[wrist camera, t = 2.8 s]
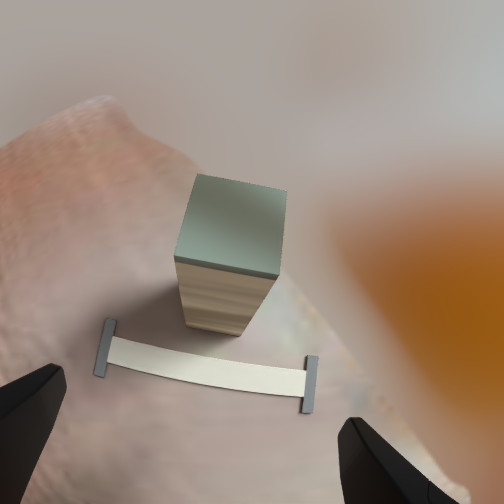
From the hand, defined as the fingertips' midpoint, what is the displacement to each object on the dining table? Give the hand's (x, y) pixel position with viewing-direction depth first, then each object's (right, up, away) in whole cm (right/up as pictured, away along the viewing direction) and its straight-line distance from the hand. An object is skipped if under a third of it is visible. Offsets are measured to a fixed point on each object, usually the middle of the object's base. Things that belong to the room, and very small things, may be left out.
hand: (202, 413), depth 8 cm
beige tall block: (-1, +1, +15) cm, 15 cm away
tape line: (-2, -4, +13) cm, 13 cm away
